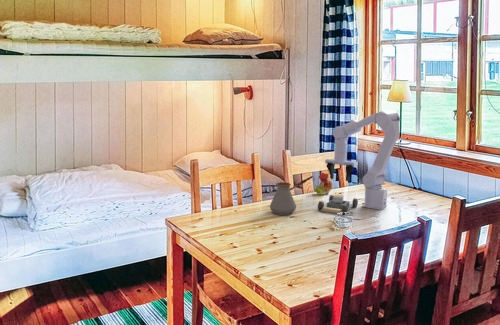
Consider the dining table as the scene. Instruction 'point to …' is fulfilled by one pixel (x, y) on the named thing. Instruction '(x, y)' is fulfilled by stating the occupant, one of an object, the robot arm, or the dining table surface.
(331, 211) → the chassis
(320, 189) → the bird rattle
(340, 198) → the block
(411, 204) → the dining table surface
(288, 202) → the coffee pot
